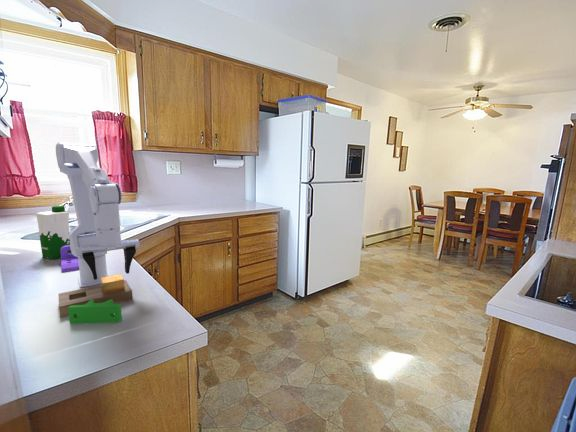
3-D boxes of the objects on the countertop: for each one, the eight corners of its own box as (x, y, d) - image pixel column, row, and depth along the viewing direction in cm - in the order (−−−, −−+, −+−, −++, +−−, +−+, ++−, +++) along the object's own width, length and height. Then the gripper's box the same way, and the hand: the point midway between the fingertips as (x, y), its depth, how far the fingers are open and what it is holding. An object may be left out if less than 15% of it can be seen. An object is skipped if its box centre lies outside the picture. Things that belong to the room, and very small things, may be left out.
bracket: (61, 263, 108) (60, 246, 107) (83, 260, 112) (82, 243, 111) (61, 273, 99) (59, 254, 98) (86, 269, 103) (84, 251, 102)
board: (59, 304, 77) (58, 293, 76) (126, 289, 87) (125, 280, 86) (60, 318, 70) (58, 306, 69) (132, 300, 80) (132, 290, 79)
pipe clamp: (126, 315, 72) (125, 299, 72) (119, 323, 69) (118, 306, 68) (79, 316, 71) (77, 299, 70) (69, 325, 67) (67, 307, 67)
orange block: (102, 296, 81) (100, 277, 80) (122, 292, 84) (120, 273, 83) (104, 303, 77) (102, 283, 76) (125, 298, 80) (123, 279, 79)
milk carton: (76, 254, 118) (71, 206, 114) (50, 260, 109) (44, 209, 106) (63, 251, 121) (58, 205, 118) (38, 257, 113) (31, 207, 110)
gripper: (75, 234, 70) (81, 286, 72) (140, 227, 79) (143, 274, 81) (74, 229, 75) (79, 277, 78) (135, 223, 84) (137, 267, 87)
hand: (111, 275), depth 80 cm, fingers open, 7 cm apart
